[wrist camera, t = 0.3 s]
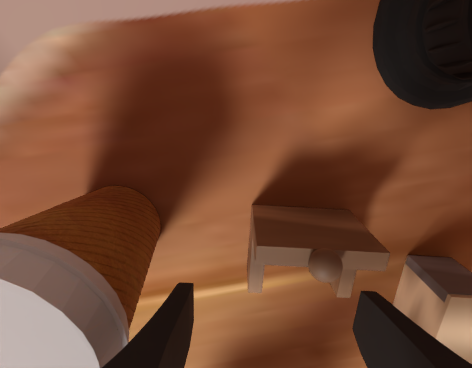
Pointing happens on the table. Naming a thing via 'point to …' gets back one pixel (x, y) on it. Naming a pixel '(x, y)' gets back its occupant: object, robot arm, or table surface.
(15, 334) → the disposable coffee cup
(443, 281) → the beige rectangular block
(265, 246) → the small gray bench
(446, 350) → the robot arm
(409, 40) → the black ridged tower
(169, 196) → the table surface
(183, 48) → the table surface
